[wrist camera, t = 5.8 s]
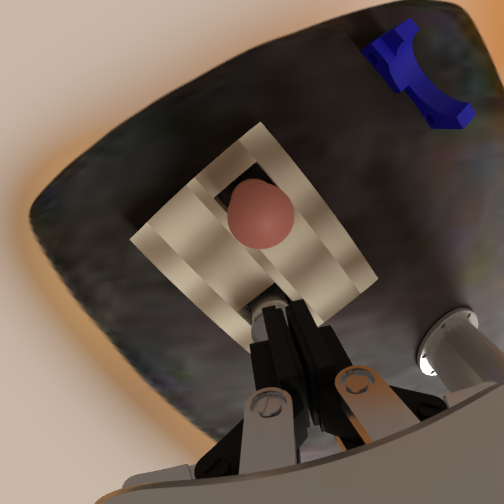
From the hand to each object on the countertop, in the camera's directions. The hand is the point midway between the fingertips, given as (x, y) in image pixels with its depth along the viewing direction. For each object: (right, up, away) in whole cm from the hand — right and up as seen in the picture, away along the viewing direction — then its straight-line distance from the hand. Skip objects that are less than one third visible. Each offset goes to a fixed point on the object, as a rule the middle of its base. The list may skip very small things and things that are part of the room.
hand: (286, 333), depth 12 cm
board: (-1, +3, +20) cm, 20 cm away
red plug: (-1, +8, +15) cm, 17 cm away
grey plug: (0, -2, +21) cm, 22 cm away
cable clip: (+16, +22, +15) cm, 31 cm away
